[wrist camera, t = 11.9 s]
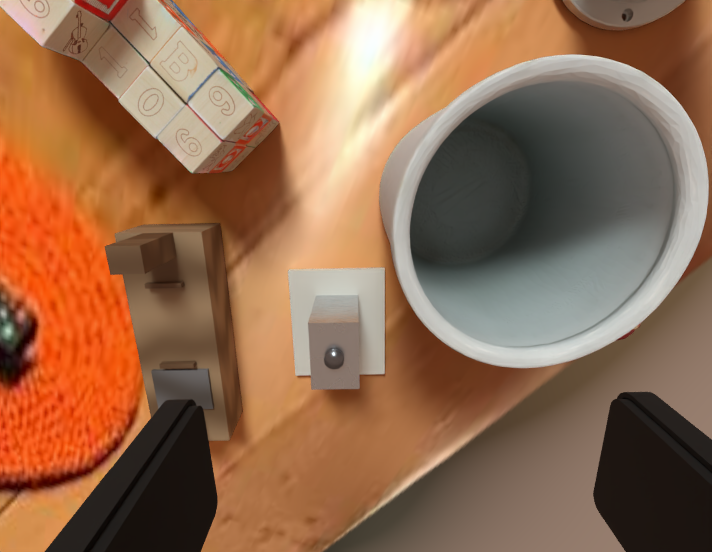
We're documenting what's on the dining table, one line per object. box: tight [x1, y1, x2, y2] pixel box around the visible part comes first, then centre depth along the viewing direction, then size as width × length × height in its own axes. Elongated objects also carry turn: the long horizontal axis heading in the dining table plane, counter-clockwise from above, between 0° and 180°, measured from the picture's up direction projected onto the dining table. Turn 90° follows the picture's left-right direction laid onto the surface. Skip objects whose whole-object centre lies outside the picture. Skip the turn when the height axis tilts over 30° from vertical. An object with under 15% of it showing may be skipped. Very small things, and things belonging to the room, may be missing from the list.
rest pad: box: [288, 268, 385, 376], centre depth 38 cm, size 11×9×1 cm
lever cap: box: [308, 295, 360, 390], centre depth 34 cm, size 6×4×7 cm, turn 1°
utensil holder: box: [379, 54, 709, 368], centre depth 27 cm, size 15×15×18 cm
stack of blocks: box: [0, 0, 279, 174], centre depth 26 cm, size 21×6×12 cm, turn 42°
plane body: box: [105, 223, 243, 441], centre depth 34 cm, size 20×7×10 cm, turn 1°
